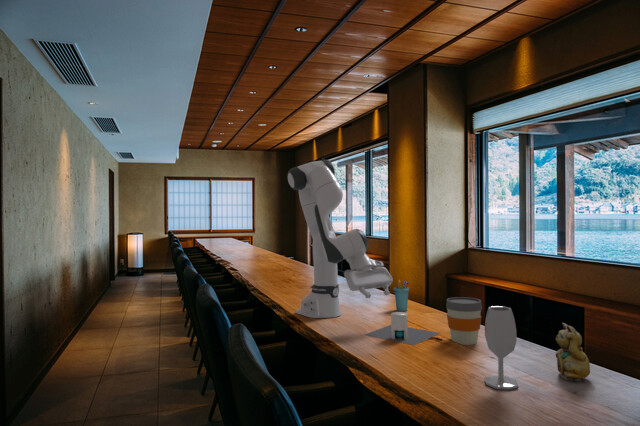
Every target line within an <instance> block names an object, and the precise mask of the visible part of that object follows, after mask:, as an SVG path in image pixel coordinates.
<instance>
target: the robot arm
mask: <svg viewBox="0 0 640 426" xmlns="http://www.w3.org/2000/svg"><path fill="white" fill-rule="evenodd" d="M335 171H336V170H335V167H334V165H333V163H332V161H330V160H329V159H320V160H317V161H316V160H315V161H311V162H310V161H309V162H307V163H304V164H301V165H299V166H294V167H292V168H290V169H289V170H288V172H287V181H288V184H289V186H290V188H291V189H293V190H294V191H298V197H299V202H300V206H301V209H302V212H303V215H304V219H305V221H306V224H307V226H308V227H307V228H308V230H309V233H310V236H311V238H312V260H313V261H312V262H313V284H312V285H311V286H309V289H311V291H310V292H309V293H308V294H307V295H306V296H305V297H304V298H303V299H302V300H301V302H300V308H299V309H297V310H296V311H295V314H297V315H301V316H304V317H308V318H311V319H323V318H325V319H327V318H330V319H331V318H336V317H339V316H342V311H341V306H340V305H341V304H340V300H339V299H340V298H339V292H340V288H339V286H340V285H339V282H338V280H339V279H338V277H339V276H338V274H339V273H338V263H340V262H342V261H344V260H345V261H346V262H347V263H348V264H349V267H350V269H346V270H344V272H343V275H344V278H345V280H346V284H347V286H348V288H349V290H350V291H352V292H356V291H359V293H361V294H362V295H363V296H364V297H365V299H370V298H371V297H372V293H370V291H368V290H369V289H370V290H371V289H379V288H383V290H384V291H383V292H382V293H383V294H384V296H389V295H390V292H391V291H389V287H390V286H391V285H392V284H393V281H394V280H393V277H392V275H391V273H390V272H389V270H388V269H387V268H386V267H385V265H384V262H383V261H380V260H375V259H371V258H370V256H368V255H367V253H366V252H367V250H368V247H369V244H370V243H369V240H368V237H366V235H365V233H364V231H363V230H361V229H359V228H354V229H351V230H348V231H346V232H344V233H342V234H339V235H337V236H336V233H335V229H334V227H333V223H332V221H331V218H330V214H332V213H333V211H335V210H336V209H337V208H338V207H339V206H340V204H341V202H342V200H343V197H344V193H343V190H342V188H341V185H340V183H339V180H338V179H337V178H336V176H335V174H336V172H335Z"/></svg>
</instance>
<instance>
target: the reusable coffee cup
mask: <svg viewBox="0 0 640 426" xmlns="http://www.w3.org/2000/svg"><path fill="white" fill-rule="evenodd" d="M482 305H483V304H482V300H481V299H479V298H475V297H467V296H466V297H465V296H463V297H462V296H460V297H459V296H455V297H447V299H446V303H445V307H446V310H447V314H446V318H447V325H448V328H449V331H450V338H451V339H450V340H451V341H452V342H454V343H457V344H458V345H462V346H463V345H465V346H472V345H476V344H477V343H478V340H479V331H480V330H481V324H482V315H481V312H482V310H483V306H482Z"/></svg>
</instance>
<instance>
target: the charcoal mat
mask: <svg viewBox="0 0 640 426" xmlns="http://www.w3.org/2000/svg"><path fill="white" fill-rule="evenodd" d="M440 334H441V333H440V332H438V331H437V332H436V331H430V330H426V329H419V328H413V327H409V326H408V339H406V340H405V339H404V336H403V337H402V338H398V337H397V336H395V339H392V338H391V324H389V325H387V326H384V327H381V328H378V329H376V330H373V331H371V332H368V333H365V334H364V336H366V337H371V338H376V339H377V338H378V339H382V340H386V341H390V342H397V343H401V344H406V345H411V346H416V345H418V344H420V343H422V342H425V341H427V340H429V339H431V338H433V337H436V336H437V335H440Z"/></svg>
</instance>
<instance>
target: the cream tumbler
mask: <svg viewBox="0 0 640 426" xmlns="http://www.w3.org/2000/svg"><path fill="white" fill-rule="evenodd" d="M408 324H409V322H408V313H407V312H405V311H404V312H400V311H393V312H391V313H390V325H391V338H392V339H395V336H396V331H397V330H398V331H403V333H404V335H403V336H404V339H405V340H406V339H408V327H409V325H408Z"/></svg>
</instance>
